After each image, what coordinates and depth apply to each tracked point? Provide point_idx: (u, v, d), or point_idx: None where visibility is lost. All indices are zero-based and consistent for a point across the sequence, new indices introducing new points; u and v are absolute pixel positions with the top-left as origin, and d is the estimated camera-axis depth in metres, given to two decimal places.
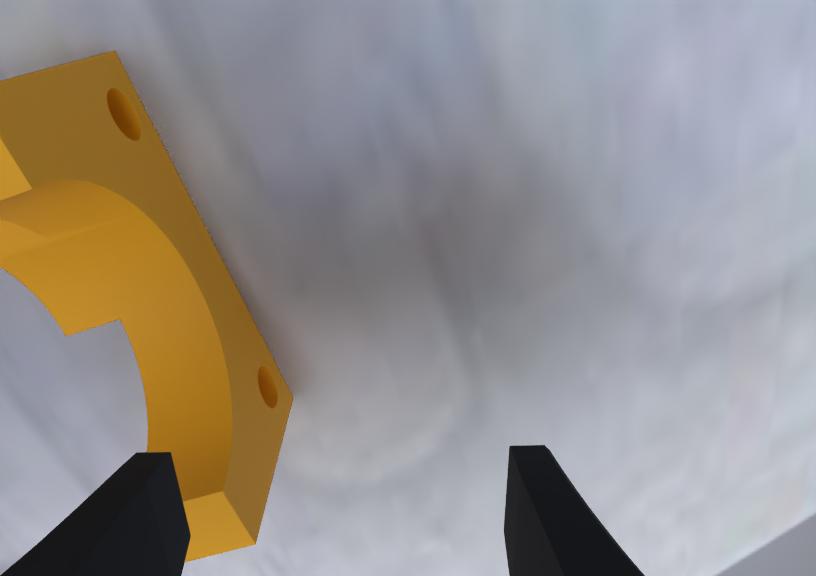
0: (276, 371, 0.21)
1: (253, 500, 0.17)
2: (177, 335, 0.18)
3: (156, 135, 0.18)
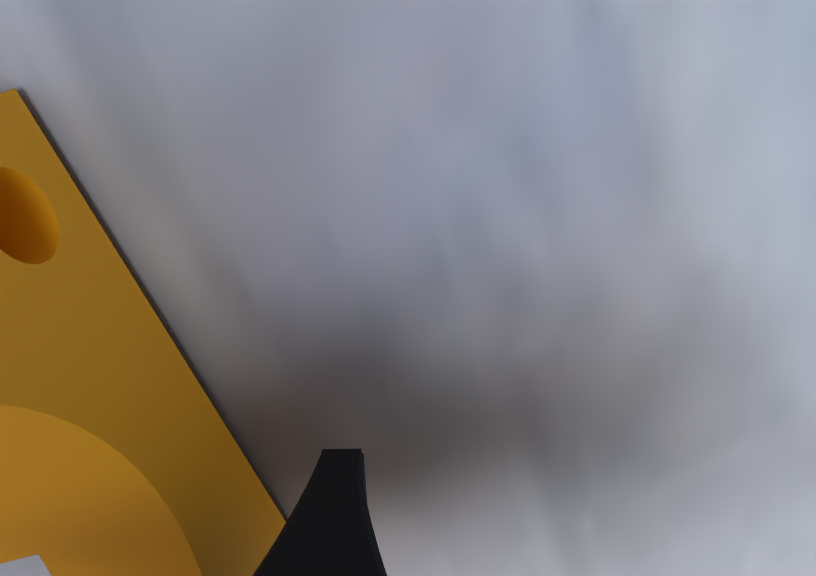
0: None
1: None
2: None
3: (94, 236, 0.10)
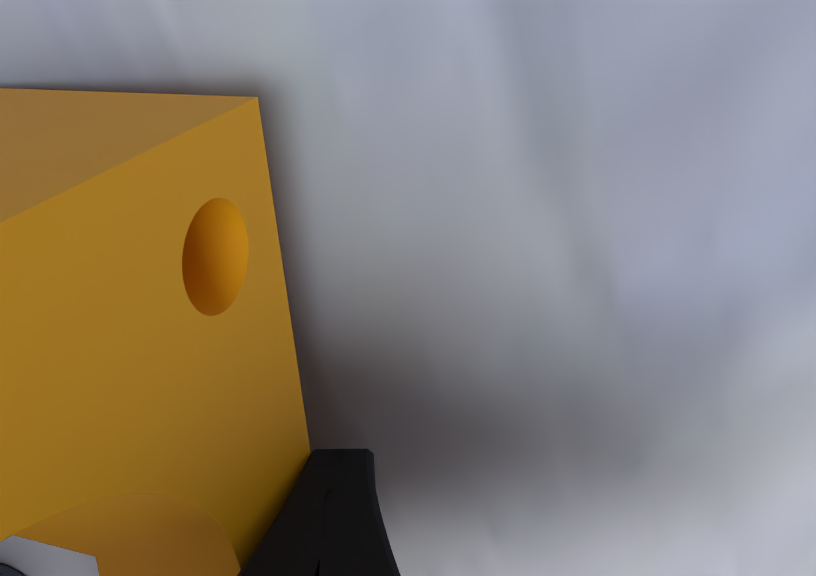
0: None
1: None
2: None
3: (273, 274, 0.09)
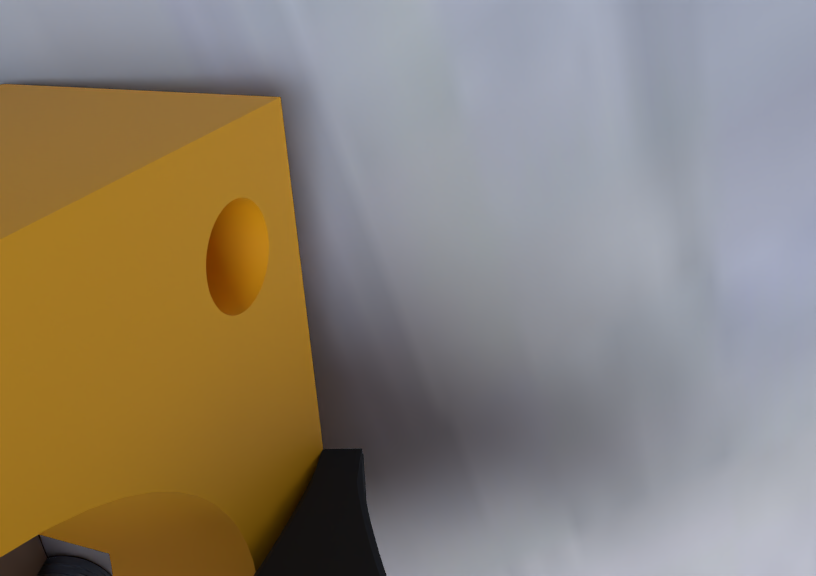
0: None
1: None
2: None
3: (291, 274, 0.09)
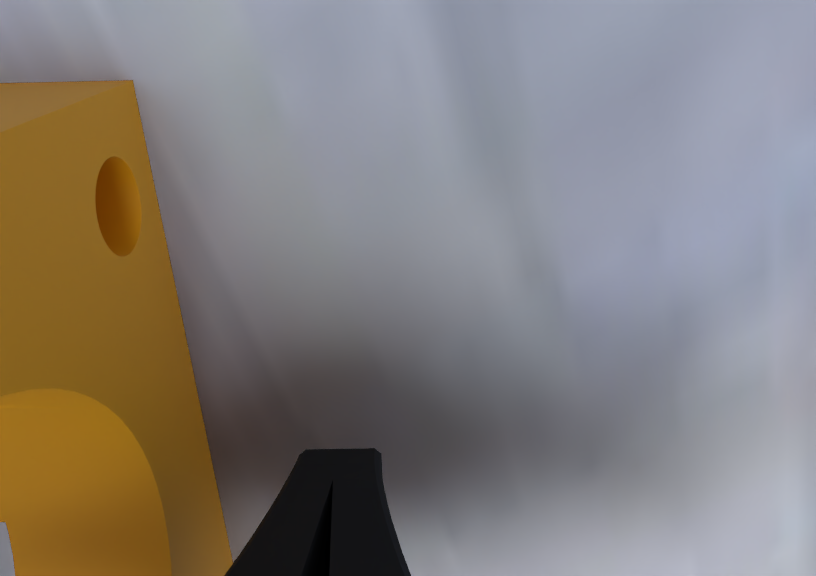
0: None
1: None
2: (99, 571, 0.10)
3: (160, 232, 0.10)
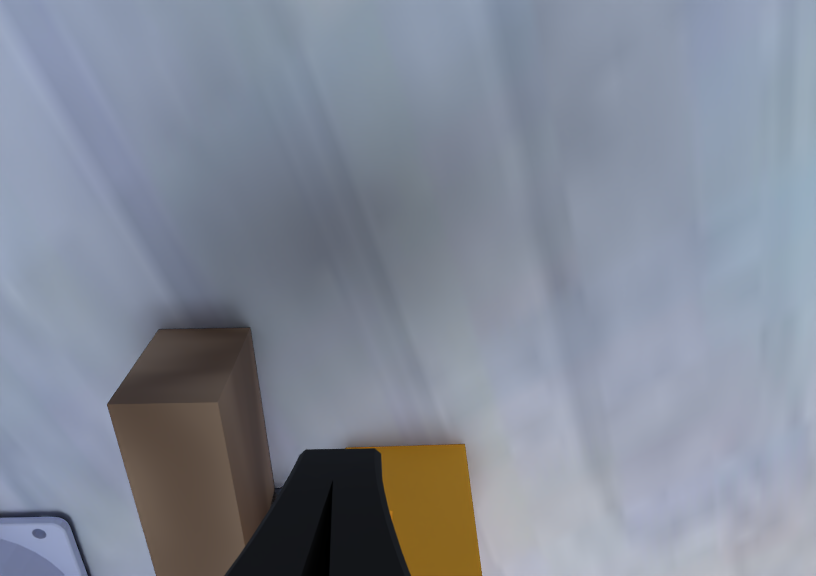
0: None
1: None
2: None
3: None
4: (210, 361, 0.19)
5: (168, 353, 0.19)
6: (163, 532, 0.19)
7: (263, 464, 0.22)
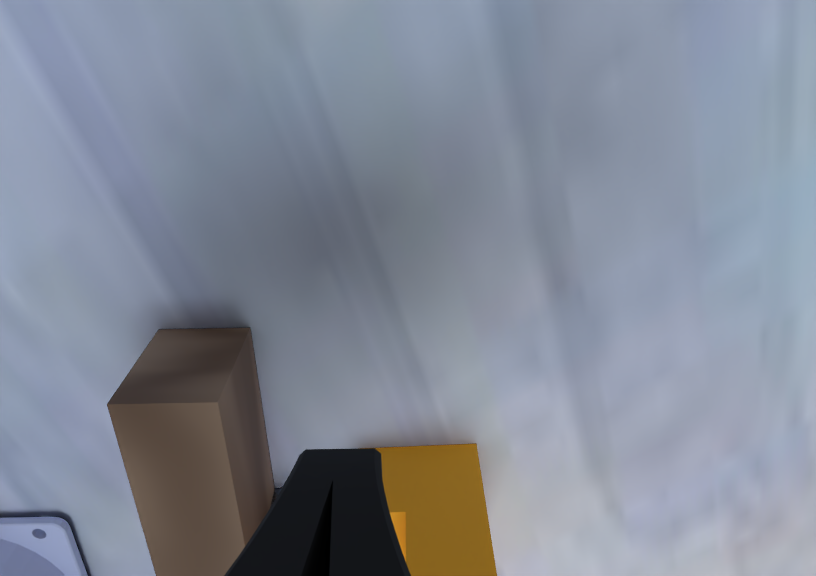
0: None
1: None
2: None
3: None
4: (210, 361, 0.19)
5: (168, 353, 0.19)
6: (163, 532, 0.19)
7: (263, 464, 0.22)
